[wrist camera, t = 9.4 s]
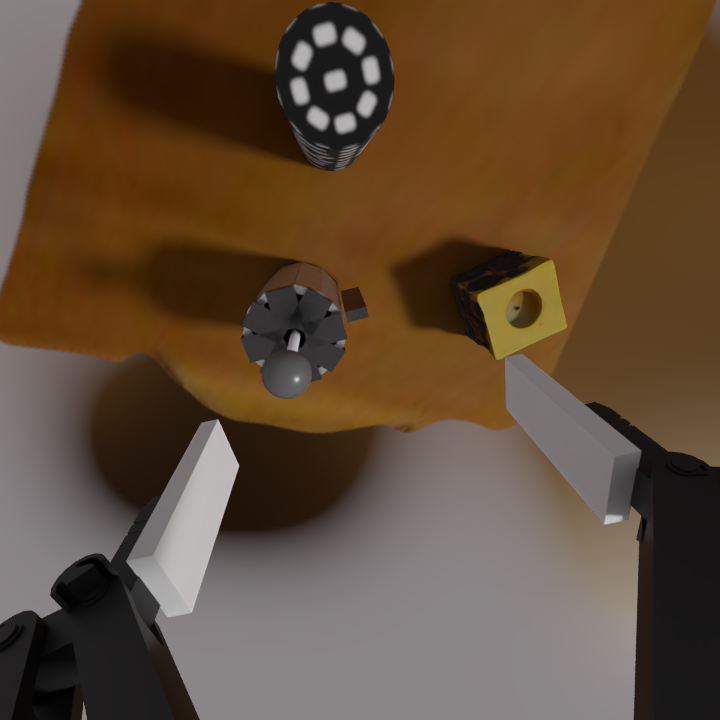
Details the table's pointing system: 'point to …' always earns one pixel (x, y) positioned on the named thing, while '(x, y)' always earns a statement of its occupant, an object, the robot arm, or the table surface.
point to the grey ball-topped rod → (287, 369)
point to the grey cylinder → (301, 317)
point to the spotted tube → (334, 82)
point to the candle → (510, 302)
